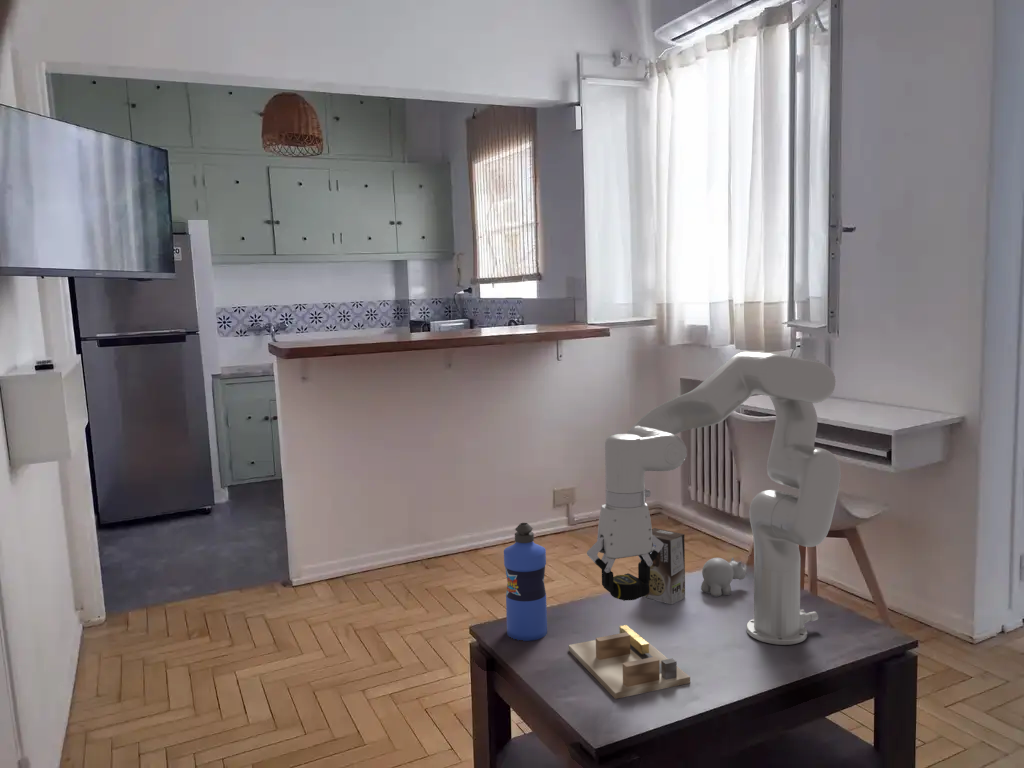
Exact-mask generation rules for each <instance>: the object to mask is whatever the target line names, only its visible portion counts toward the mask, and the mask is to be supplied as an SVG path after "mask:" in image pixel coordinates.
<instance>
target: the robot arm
mask: <svg viewBox="0 0 1024 768" xmlns="http://www.w3.org/2000/svg"><path fill="white" fill-rule="evenodd" d="M836 382H837V381H836V376H835V373H834V371H833V369H832V368H831V367H830V366H829V365H828V364H826V363H824V362H822V361H816V360H810V359H804V358H797V357H792V356H786V355H782V354H777V353H769V352H756V351H742V352H739V353H736V354H734V355H733V356H732V357H730V358H729V359H728V360H727V361H725V362H724V363H723V364H722V365H721V366H719V368H717V369H716V370H715V371H713V372H712V373H711V374H710V375H709V376H708V377H707V378H705V379H704V380H703V381H702V382H701V383H699V385H698V386H696V387H695V388H694V389H692V390H690V391H689V392H686V393H683V394H681V395H678V396H677V397H675V398H673V399H671V400H668V401H666V402H663V403H661V404H660V405H658V406H656V407H654V408H652V409H651V410H649V412H647V413H646V414H645V415H644V416H642V417H641V418H640V419H639V420H638V421H637V422H635V423H634V424H633V425H632V426H631V427H630V428H629V430H628V431H627V433H617V434H612V435H610V436H608V437H607V438H606V440H605V442H604V466H605V467H604V468H605V469H604V470H605V471H604V472H605V475H604V476H605V477H604V479H605V482H604V483H605V504H601V507H600V511H599V512H600V513H599V518H598V526H597V527H598V528H597V538H596V539H597V540H596V542H595V543H594V544H592V546H591V547H590V548H589V549H588V550H587V551H586V555H587V556H588V558H589V559H591V561H593V563H594V564H595V565H596V566H597V567H598V568H600V570H601V585H602V587H603V588H604V589H605V590H606V591H608V592H609V593H610V592H613V591H614V585H613V577H614V572H613V571H612V568H613V567H614V566H613V565H614V564H615V561H616V560H617V559H624V558H630V557H632V558H633V557H638V558H639V559H640V561H638V565H637V566H638V567H637V568H638V569H637V573H638V576H637V578H639V579H641V580H643V581H645V582H646V583H647V584H649V580H650V566H652V564H653V561H654V559H655V558H656V557H657V556H658V552H660V550H661V549H662V547H663V546H664V543H663V542H661V541H660V540H659V539H657V538H656V537H655V536H654V535H652V529H653V528H652V521H651V520H652V519H651V515H650V511H649V510H650V509H649V506H648V504H647V503H646V500H647V499H646V498H648V497H651V495H652V494H651V490H650V489H646V487H645V484H646V481H645V479H646V478H645V477H646V475H645V473H646V472H669V471H674V470H676V469H678V468H680V466H682V465H683V463H684V462H685V460H686V459H687V453H688V450H687V446H686V443H685V442H684V440H683V439H682V438H681V437H679V436H678V435H677V434H679V433H682V432H684V431H689V430H692V429H693V430H694V429H699V428H706V427H710V426H714V425H718V424H720V423H723V422H724V421H725V420H726V419H727V418H729V416H730V415H731V414H733V412H734V411H736V410H737V409H738V408H739V407H740V406H741V405H743V404H744V403H745V401H747V400H748V399H749V398H751V397H752V396H753V395H759V396H764V397H765V396H766V397H769V399H770V400H771V403H772V406H773V407H774V408H773V409H774V410H775V422H774V430H773V434H772V438H771V443H770V447H769V452H768V457H767V462H766V473H767V476H768V477H769V478H770V480H771V481H773V482H775V483H777V484H780V485H782V486H784V487H789V488H791V489H795V490H798V495H796V494H792V493H789V492H786V491H782V490H777V489H766V490H762V491H760V492H758V493H757V494H756V495H755V496H754V497H753V498H752V500H751V502H750V505H749V515H748V516H749V522H750V527H751V532H752V539H753V554H754V555H753V556H754V557H753V558H754V559H753V562H754V563H753V619H750V620H749V621H748V622H747V623H746V632H747V634H748V635H749V636H750V637H752V638H753V639H755V640H758V641H759V642H763V643H767V644H771V645H778V646H779V645H780V646H782V645H783V646H787V645H789V646H790V645H795V644H799V643H802V642H804V641H806V639H807V637H808V629H807V628H806V627H805V625H806V624H807V623H808V622H814V621H818V620H819V615H818V613H817V612H816V611H810V612H806V611H805V609H801V552H800V547H799V546H802V547H805V548H806V547H807V548H813V547H816V546H817V547H818V546H819V545H820V544H822V543H823V542H824V540H825V539H826V537H827V536H828V533H829V532H830V528H831V525H832V521H833V518H834V517H833V516H834V512H835V509H836V508H835V507H836V505H837V499H838V494H839V491H840V485H841V480H842V479H841V477H842V471H841V465H840V462H839V460H838V458H837V457H836V455H835V454H834V453H832V452H831V451H829V450H827V449H825V448H821V447H816V446H815V442H816V436H817V429H818V414H817V411H816V409H815V405H814V404H818V403H823V402H824V401H826V400H827V399H829V398H830V397H831V395H832V394H833V393H834V390H835V388H836ZM652 543H653V547H652ZM598 553H599V554H600V553H601V554H602V557H601V558H600V557H599V555H598Z"/></svg>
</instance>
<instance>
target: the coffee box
mask: <svg viewBox="0 0 1024 768" xmlns="http://www.w3.org/2000/svg"><path fill="white" fill-rule="evenodd" d="M652 535H654V536H655V537H656V538H657V539H659V540H660V541H661V542H663V543H664V546H663V547H662V549H661V550H660V552H658V556H657V557H656V558H655V559H654V561H653V564H652V566H650V580H649V588H650V590H649V593H648V594H647V595H646V596H643V597H644V598H646V599H647V598H648V599H651V600H654V601H657V602H662V603H665V604H668V605H674V604H676V603H678V602H680V601H682V600H684V599H685V598H686V562H685V561H686V560H685V559H686V558H685V555H686V554H685V550H686V549H685V533H680V532H675V531H670V530H667V529H666V530H665V529H663V528H658V527H657V528H656V527H654V528H652ZM652 547H653V543H652ZM643 597H642V598H643Z"/></svg>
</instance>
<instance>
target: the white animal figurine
mask: <svg viewBox="0 0 1024 768" xmlns="http://www.w3.org/2000/svg"><path fill="white" fill-rule="evenodd" d="M743 565H744V566H743ZM743 565H742V561H740V560H739V561H736V560H735V558H734V557H731V559H730V561H727V560H726V559H725V558H721V557H712V558H710V559H708V560H707V561H705V563H704V564H703V566H702V571H701V572H702V578H703V580H702V583H701V586H700V590H701V592H703V593H706V594H708V593H710V595H711V596H712V597H720V596H721V595H723V596H729V595H731V593H732V587H731V582H733V580H739V581H741V580H744V579H745V578H746V576H747V565H746V564H743Z"/></svg>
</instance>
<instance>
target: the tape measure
mask: <svg viewBox="0 0 1024 768" xmlns="http://www.w3.org/2000/svg"><path fill="white" fill-rule="evenodd" d="M613 585H614V591H613V592H609V594H610V595H611V597H613V598H614V599H617V600H621V601H624V602H626V601H635V600H638V599H640V598H643V596H646V595H647V594H648V593H649V590H650V588H649V584H647V583H646V582H645V581H643V580H641V579H639V578H638V576H634V575H633V574H631V573H625V574H617V575H613Z"/></svg>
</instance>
